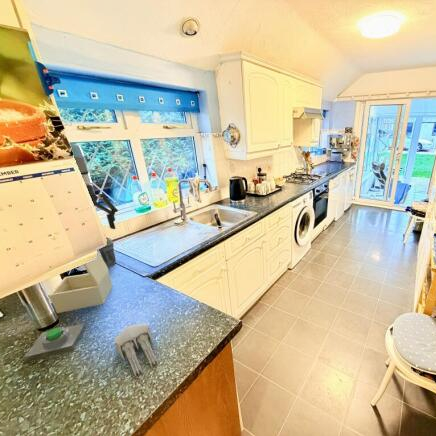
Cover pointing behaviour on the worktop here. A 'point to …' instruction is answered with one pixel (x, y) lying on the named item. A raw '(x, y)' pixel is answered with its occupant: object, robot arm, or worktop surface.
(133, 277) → the worktop surface
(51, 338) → the button
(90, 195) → the robot arm
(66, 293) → the chest
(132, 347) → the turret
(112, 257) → the beverage cup
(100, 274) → the chest lid
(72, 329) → the block
